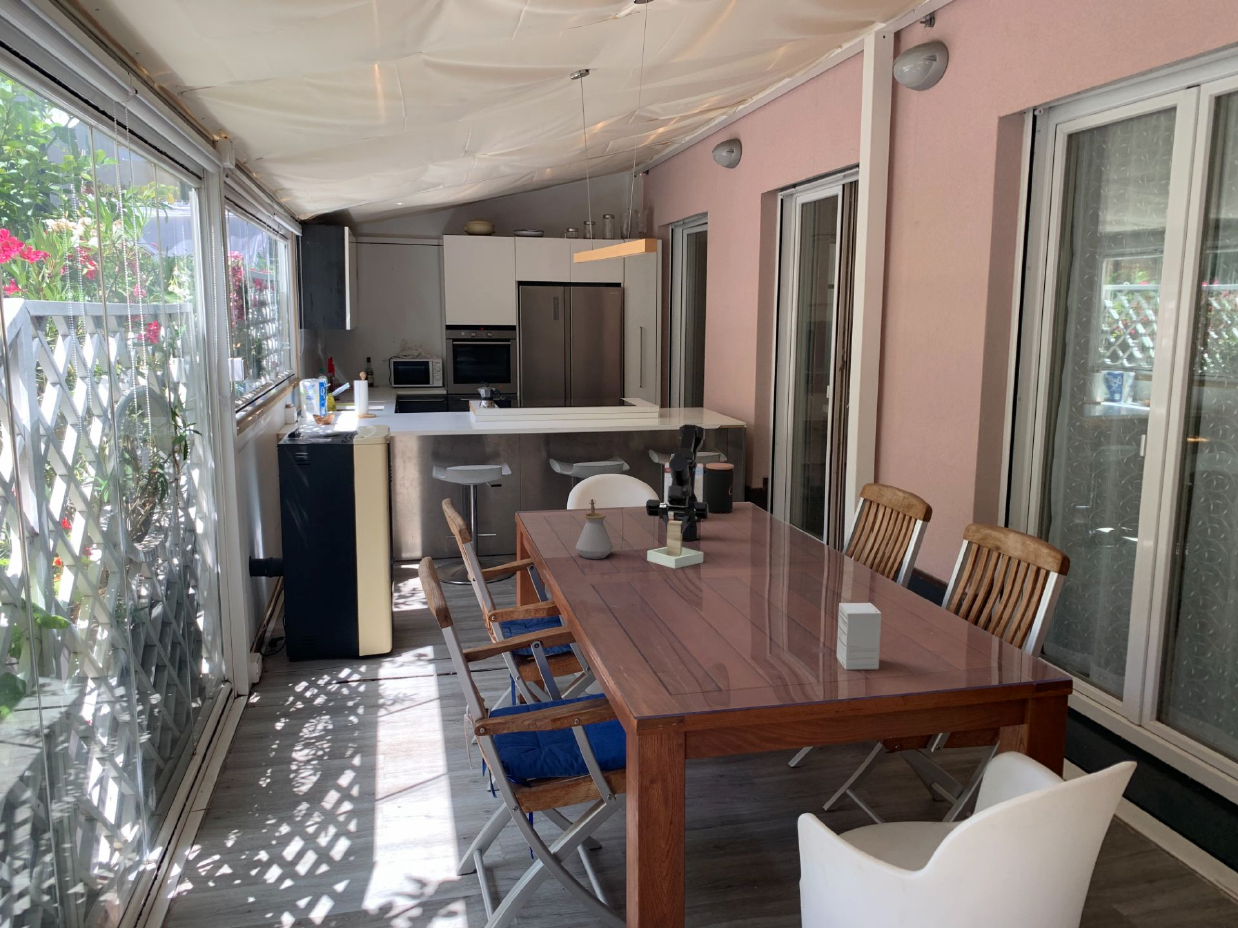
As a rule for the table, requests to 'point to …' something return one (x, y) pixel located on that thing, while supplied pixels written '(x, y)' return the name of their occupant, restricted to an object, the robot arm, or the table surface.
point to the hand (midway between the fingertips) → (674, 532)
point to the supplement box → (858, 636)
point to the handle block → (674, 538)
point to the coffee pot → (594, 536)
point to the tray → (675, 557)
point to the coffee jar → (719, 487)
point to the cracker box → (697, 489)
